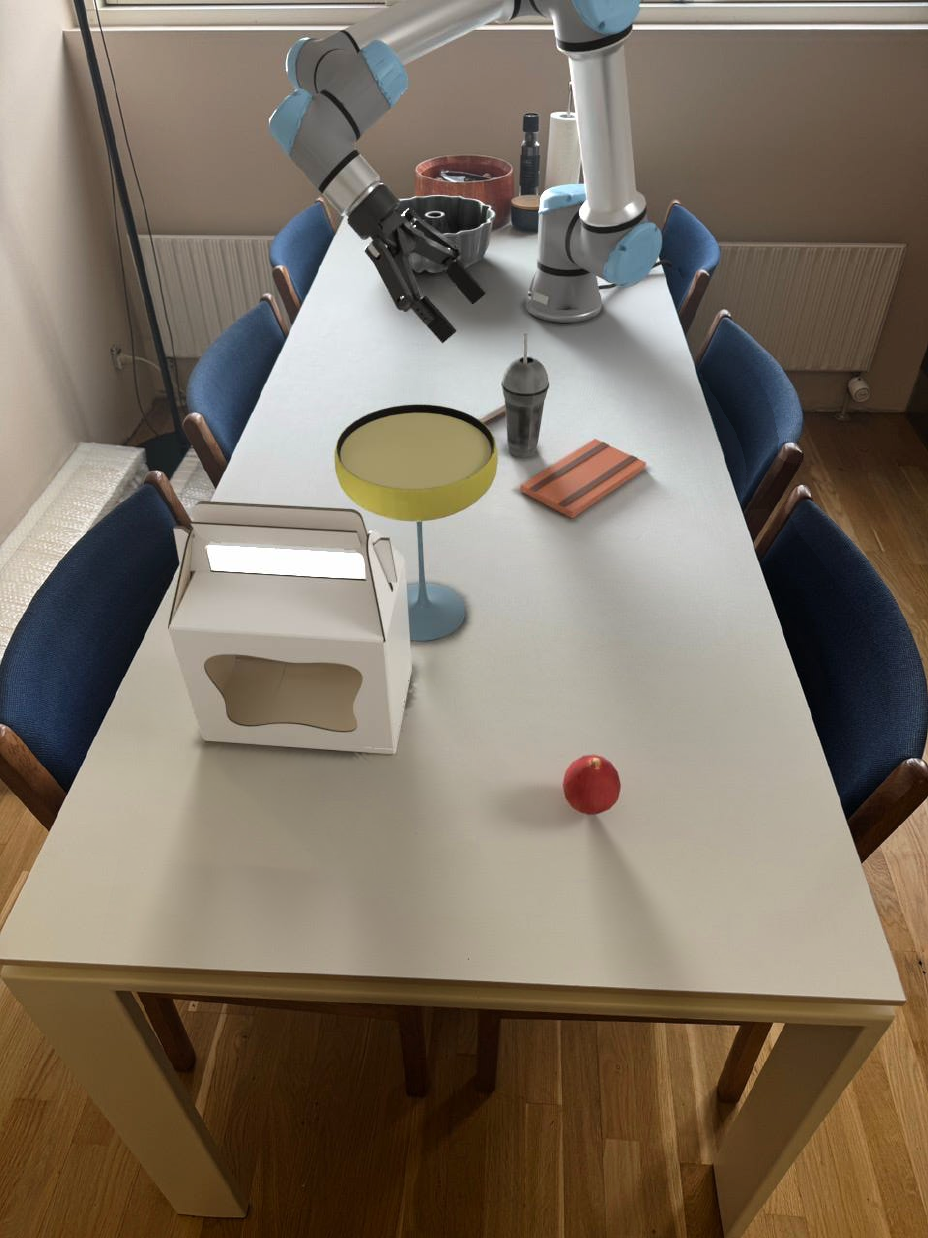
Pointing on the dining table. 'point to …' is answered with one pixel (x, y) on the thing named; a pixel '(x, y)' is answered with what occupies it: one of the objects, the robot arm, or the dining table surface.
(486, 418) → the spatula
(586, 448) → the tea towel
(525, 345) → the beverage cup
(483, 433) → the cocktail glass
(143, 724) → the dining table surface
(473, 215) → the bundt pan
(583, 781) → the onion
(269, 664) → the gable box
